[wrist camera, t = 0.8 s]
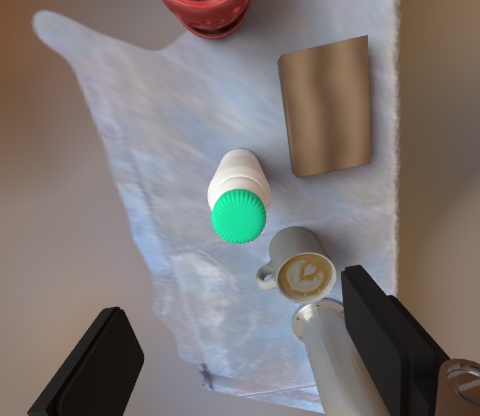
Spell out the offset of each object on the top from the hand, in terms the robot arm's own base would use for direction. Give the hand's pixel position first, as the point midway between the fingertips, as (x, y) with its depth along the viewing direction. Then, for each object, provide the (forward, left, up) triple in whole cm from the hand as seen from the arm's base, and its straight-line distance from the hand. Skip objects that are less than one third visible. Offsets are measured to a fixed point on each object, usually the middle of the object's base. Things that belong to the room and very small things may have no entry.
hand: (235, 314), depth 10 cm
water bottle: (0, 0, -36) cm, 36 cm away
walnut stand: (-10, -13, -36) cm, 39 cm away
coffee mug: (-14, +13, -36) cm, 41 cm away
